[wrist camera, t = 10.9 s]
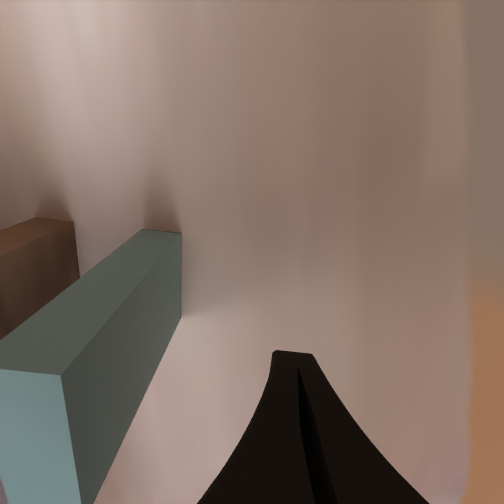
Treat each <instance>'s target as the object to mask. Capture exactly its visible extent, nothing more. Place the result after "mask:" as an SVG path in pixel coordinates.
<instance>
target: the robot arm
mask: <svg viewBox="0 0 504 504" xmlns="http://www.w3.org/2000/svg"><path fill="white" fill-rule="evenodd" d="M0 504H8V501H7V497H6V494H5V490H4V487H3V483H2V480H1V476H0ZM197 504H429V503H428V502H427V501H426V500H425V499H424V498H423V497H422V496H421V495H420V494H419V493H418V492H417V491H416V490H415V489H414V488H413V487H412V486H411V485H410V484H409V483H408V482H407V481H406V480H405V479H404V478H403V477H402V476H401V475H400V474H399V473H398V472H397V471H396V470H395V469H394V467H393V466H392V465H391V464H390V463H389V462H388V461H387V460H386V459H385V457H384V456H383V455H382V454H381V453H380V452H379V450H378V449H377V448H376V447H375V446H374V445H373V443H372V442H371V441H370V440H369V438H368V437H367V436H366V435H365V433H364V432H363V431H362V430H361V428H360V427H359V425H358V424H357V423H356V421H355V420H354V419H353V417H352V416H351V415H350V413H349V412H348V410H347V409H346V408H345V406H344V405H343V403H342V402H341V400H340V399H339V397H338V396H337V394H336V393H335V391H334V390H333V388H332V386H331V385H330V383H329V382H328V380H327V378H326V377H325V375H324V373H323V372H322V370H321V368H320V366H319V365H318V363H317V361H316V359H315V357H314V356H313V355H312V354H308V353H299V352H290V351H280V350H276V351H274V352H273V353H272V360H271V367H270V374H269V378H268V381H267V383H266V386H265V389H264V392H263V395H262V397H261V399H260V402H259V404H258V406H257V408H256V411H255V413H254V415H253V417H252V419H251V421H250V423H249V425H248V427H247V429H246V431H245V432H244V434H243V436H242V438H241V440H240V441H239V443H238V445H237V446H236V448H235V450H234V451H233V453H232V454H231V456H230V458H229V459H228V461H227V462H226V464H225V466H224V467H223V469H222V470H221V471H220V473H219V474H218V476H217V477H216V478H215V480H214V481H213V483H212V484H211V485H210V487H209V488H208V490H207V491H206V492H205V494H204V495H203V496H202V498H201V499H200V500H199V502H198V503H197Z"/></svg>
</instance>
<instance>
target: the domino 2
mask: <svg viewBox="0 0 504 504" xmlns="http://www.w3.org/2000/svg"><path fill="white" fill-rule="evenodd" d="M181 237H182V233H174V232H164V231H154V230H144V229H142V230H141V231H139V232H138V233H137V234H136V235H134V236H133V237H132V238H131V239H129V240H128V241H127V242H125V243H124V244H123V245H122V246H120V247H119V248H118V249H116V250H115V251H114V252H113V253H111V254H110V255H109V256H108V257H106V258H105V259H104V260H102V261H101V262H100V263H99V264H97V265H96V266H95V267H94V268H92V269H91V270H90V271H88V272H87V273H86V274H85V275H83V276H82V277H81V278H79V279H78V280H77V281H76V282H74V283H73V284H72V285H71V286H69V287H68V288H67V289H65V290H64V291H63V292H62V293H60V294H59V295H58V296H56V297H55V298H54V299H53V300H51V301H50V302H49V303H48V304H46V305H45V306H44V307H42V308H41V309H40V310H39V311H37V312H36V313H35V314H33V315H32V316H31V317H30V318H28V319H27V320H26V321H25V322H23V323H22V324H21V325H19V326H18V327H17V328H16V329H14V330H13V331H12V332H10V333H9V334H8V335H7V336H5V337H4V338H3V339H2V340H0V476H1V480H2V483H3V487H4V490H5V494H6V497H7V501H8V504H93V503H94V501H95V499H96V497H97V494H98V492H99V490H100V488H101V486H102V484H103V482H104V480H105V478H106V475H107V473H108V471H109V469H110V467H111V465H112V463H113V461H114V458H115V456H116V454H117V452H118V450H119V448H120V446H121V444H122V441H123V439H124V437H125V435H126V433H127V431H128V429H129V427H130V425H131V422H132V420H133V418H134V416H135V414H136V412H137V410H138V408H139V405H140V403H141V401H142V399H143V397H144V395H145V393H146V391H147V388H148V386H149V384H150V382H151V380H152V378H153V376H154V374H155V372H156V369H157V367H158V365H159V363H160V361H161V359H162V357H163V355H164V352H165V350H166V348H167V346H168V344H169V342H170V340H171V338H172V336H173V333H174V331H175V329H176V327H177V325H178V323H179V321H180V319H181Z"/></svg>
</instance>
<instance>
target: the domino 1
mask: <svg viewBox="0 0 504 504" xmlns="http://www.w3.org/2000/svg"><path fill="white" fill-rule="evenodd" d="M79 278H80V275H79V267H78V258H77V249H76V240H75V232H74V223H73V222H69V221H59V220H50V219H40V218H33V219H30V220H28V221H25V222H22V223H20V224H17V225H14V226H12V227H9V228H6V229H4V230H1V231H0V340H2V339H3V338H4V337H5V336H7V335H8V334H9V333H10V332H12V331H13V330H14V329H16V328H17V327H18V326H19V325H21V324H22V323H23V322H25V321H26V320H27V319H28V318H30V317H31V316H32V315H33V314H35V313H36V312H37V311H39V310H40V309H41V308H42V307H44V306H45V305H46V304H48V303H49V302H50V301H51V300H53V299H54V298H55V297H56V296H58V295H59V294H60V293H62V292H63V291H64V290H65V289H67V288H68V287H69V286H71V285H72V284H73V283H74V282H76V281H77V280H78V279H79Z"/></svg>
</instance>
